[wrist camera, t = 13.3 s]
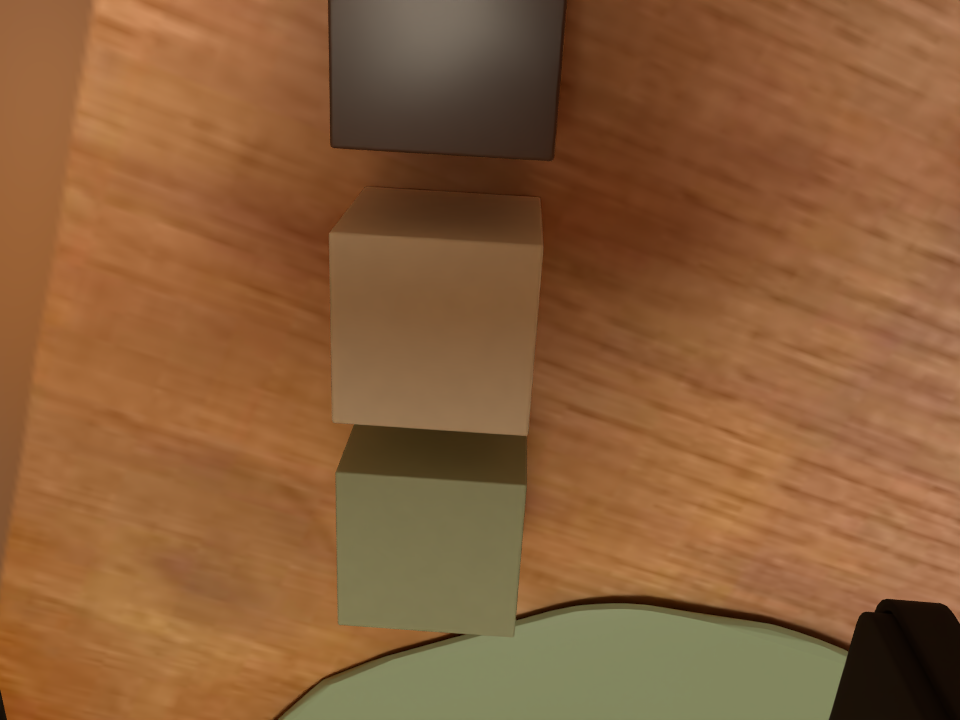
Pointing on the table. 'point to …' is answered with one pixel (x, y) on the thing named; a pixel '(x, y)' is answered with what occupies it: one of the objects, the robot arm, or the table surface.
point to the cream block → (435, 310)
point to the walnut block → (446, 76)
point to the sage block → (430, 529)
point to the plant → (595, 672)
